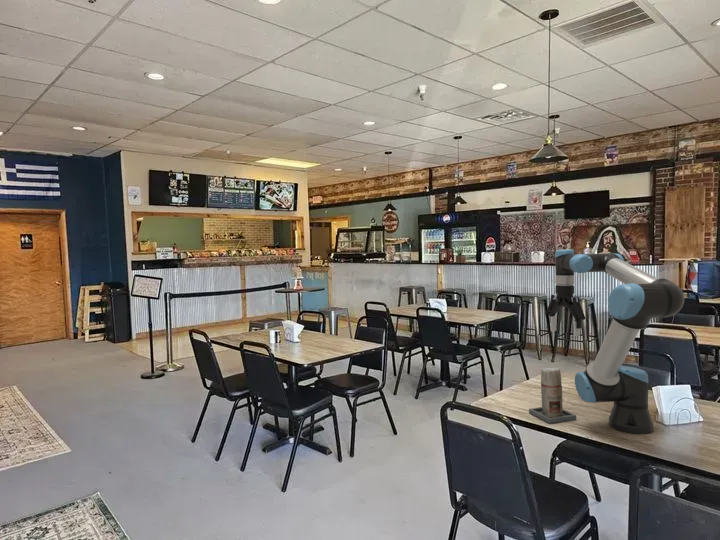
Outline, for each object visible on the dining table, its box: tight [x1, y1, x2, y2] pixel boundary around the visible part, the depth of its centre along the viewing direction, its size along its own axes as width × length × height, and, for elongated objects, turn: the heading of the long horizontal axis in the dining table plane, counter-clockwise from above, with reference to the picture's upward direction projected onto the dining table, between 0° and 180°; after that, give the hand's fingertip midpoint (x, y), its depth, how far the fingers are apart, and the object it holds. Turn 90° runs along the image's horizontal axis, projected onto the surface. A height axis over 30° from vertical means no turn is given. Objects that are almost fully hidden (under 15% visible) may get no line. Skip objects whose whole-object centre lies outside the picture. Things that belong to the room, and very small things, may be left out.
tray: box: [528, 406, 577, 425], centre depth 193 cm, size 13×13×2 cm
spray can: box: [540, 367, 564, 418], centre depth 193 cm, size 8×8×20 cm
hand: (564, 333), depth 203 cm, fingers open, 13 cm apart
